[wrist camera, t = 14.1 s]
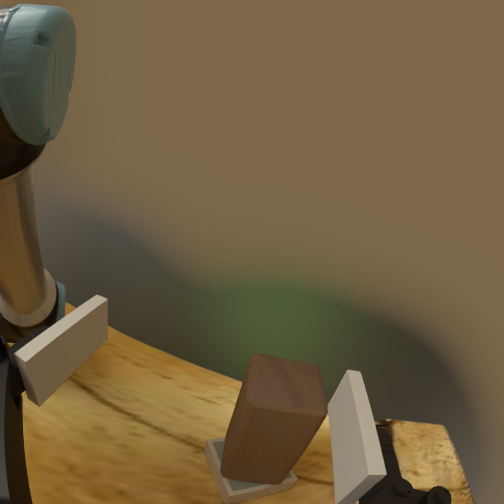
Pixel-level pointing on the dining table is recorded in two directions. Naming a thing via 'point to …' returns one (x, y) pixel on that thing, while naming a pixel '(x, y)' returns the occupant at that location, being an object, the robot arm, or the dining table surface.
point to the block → (273, 419)
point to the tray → (237, 488)
